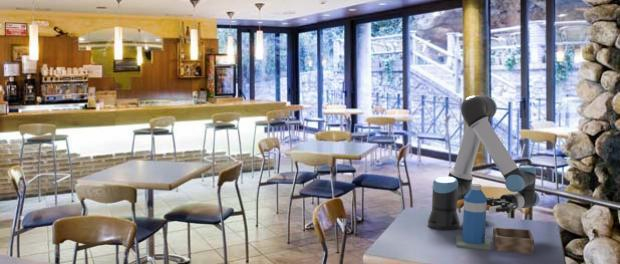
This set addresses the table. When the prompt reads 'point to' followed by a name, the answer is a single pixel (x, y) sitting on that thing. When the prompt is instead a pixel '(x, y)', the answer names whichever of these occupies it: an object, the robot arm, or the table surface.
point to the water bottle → (474, 215)
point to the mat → (478, 246)
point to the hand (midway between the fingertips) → (477, 206)
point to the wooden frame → (513, 240)
